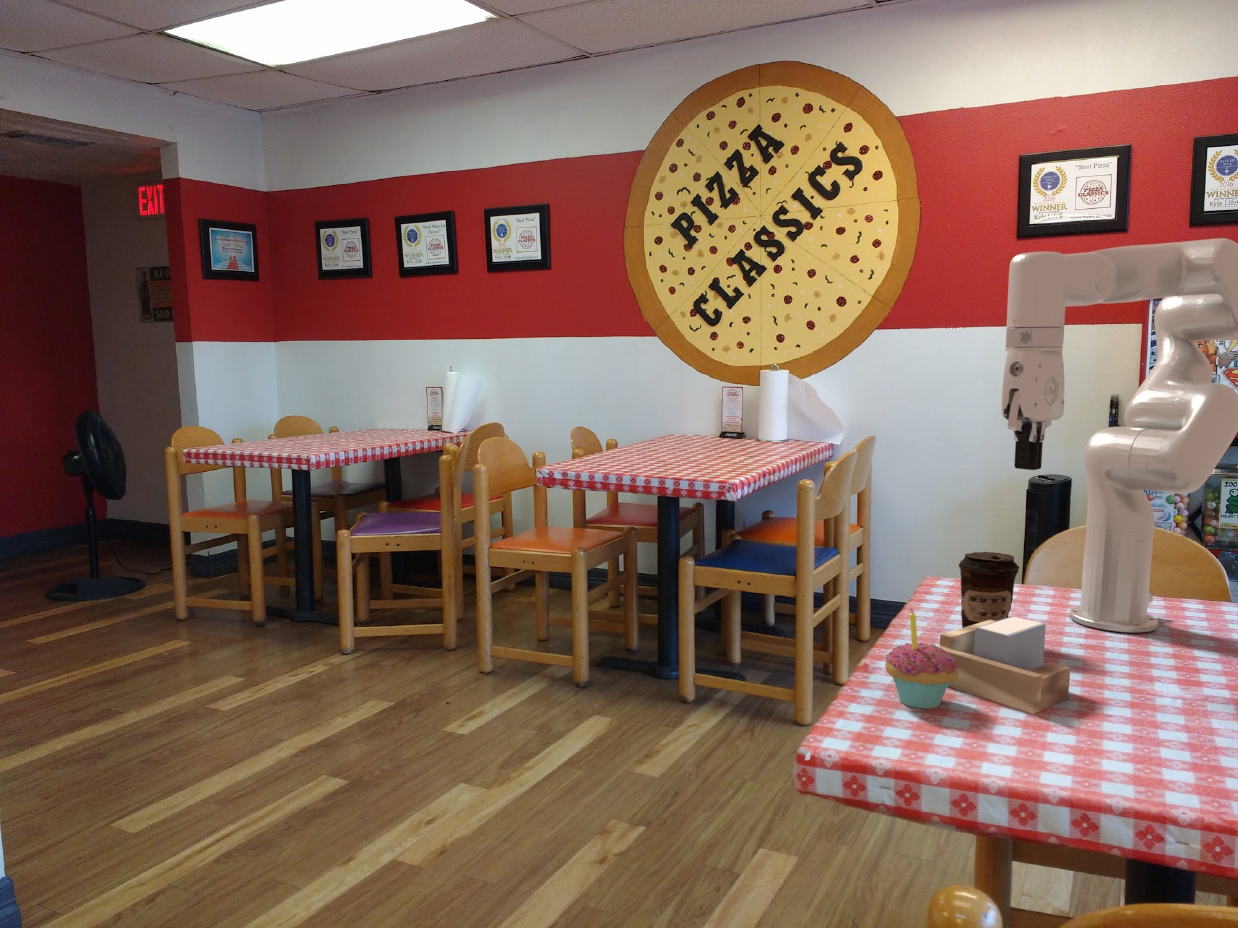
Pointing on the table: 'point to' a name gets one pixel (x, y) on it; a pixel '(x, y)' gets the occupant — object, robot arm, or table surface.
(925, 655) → the cupcake
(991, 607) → the coffee cup
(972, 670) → the rack
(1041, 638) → the grey rectangular block
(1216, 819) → the table surface
